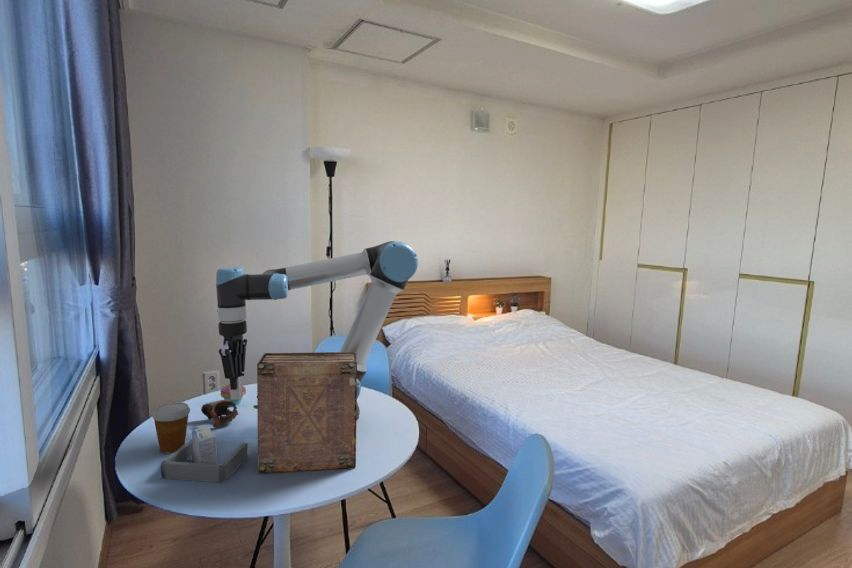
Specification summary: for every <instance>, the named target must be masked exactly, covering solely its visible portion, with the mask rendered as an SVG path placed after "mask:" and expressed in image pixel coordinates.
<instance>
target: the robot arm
mask: <svg viewBox="0 0 852 568" xmlns="http://www.w3.org/2000/svg"><path fill="white" fill-rule="evenodd" d="M418 265H419V258H418V255H417V253H416V251H415V250H414V249H413V248H412V246H410V245H409V244H407V243H405V242H403V241H394V240H393V241H387V242H383V243H380V244H378V245H374V246H371V247H367V248H363V250H362V251H361V252H357V253H351V254H347V255H342V256H336V257H331V258H326V259H321V260H316V261H312V262H311V261H310V262H306V263H300V264H297V265H296V264H295V265H292V266H291V265H290V266H287V267H282V268H281V267H280V268H275V269H274V268H272V269H267V270H265V271H264V272H262V273H261V274H258V273H257V274H255V273H254V274H246V273H245V269H244V268H242V267H222V268H219V269H217V270H216V272H215V273H216V276H215V277H216V282H215V288H216V290H215V291H216V301H217V309H216V312H217V316H218V317H217V320H218V321H219V323H217V324H218V326H217V328H218V334H219V336H222V337H223V343H222V344H223V348H219V350H218V353H219V356H220V359H221V363H222V368H223V374H224V375H223V376H224V379H228V380H229V384H230V397H231V399H232V400H240V399H241V398H242V399H243V396H242V390H241V385H242V377H244V376H245V373H244V372H245V367H246V355H247V353H246V352H247V343H248V339H246V338H244V336H243V335H246V333H247V332H248V330H247V329H248V327H247V326H248V325H247V321H246V319H247V309H246V308H247V304H246V301H257V300H260V301H263V300H264V301H265V300H268V301H269V300H274V301H277V300H284V299H287V297H289V295H288V294H289V291H292V290H295V289H300V288H301V289H302V288H306V287H311V286H315V285H321V284H326V283H330V282H335V281H341V280H346V279H350V278H356V277H360V276H365V275H366V276H368V277H369V278H370V282H371V283H370V285H369V287H368V290H367V291H366V294H365V296H364V298H363V300H362V301H361V304H360V307H359V310H358V312H357V314H356V316H355V318H354V321H353V322H352V324H351V326H350V329H349V331H348V333H347V336H346V337H345V340H344V342H343V345H342V346H341V348H340V350H329V351H328V352H356V361H357V400H358V398H359V397H360V395H361V390H362V382H363V380H364V378H365V376H366V374H367V371H368V367H367V364H366V362H367V360H368V357H369V355H370V353H371V350H372V349H373V346H374V344H375V342H376V340H377V339H378V338H377V337H378V335H379V334H380V331H381V329H382V326H383V325H384V322H385V320H386V319H387V315H388V314H389V311H390V310H391V307H392V305H393V302H394V301H395V298H396V296H397V294H399V293H402V292H403V291H404V290H405V288H406V286H407V284H408V282H409V280H410V279H411V278H412V277H414V275H415V273H416V272H417V270H418V267H419V266H418ZM242 399H241V400H242ZM360 412H361V411H360V407H359V403H358V402H357V412H356V421H358V420H357V419H359V418H360V416H361V414H360ZM359 415H360V416H359Z"/></svg>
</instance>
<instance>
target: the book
mask: <svg viewBox="0 0 852 568" xmlns="http://www.w3.org/2000/svg"><path fill="white" fill-rule="evenodd" d="M256 377H257V378H256V380H257V381H256V386H257V387H256V389H257V391H256V392H257V393H256V394H257V395H256V396H257V399H256V400H257V401H256V402H257V404H256V405H257V473H258V475H259V474H260V475H261V474H262V475H263V474H278V473H279V474H280V473H293V472H294V473H296V472H312V471H313V472H314V471H316V472H317V471H329V470H330V471H334V470H349V469H348V468H353V469H356V467H357V420H356V412H357V403H358V399H357V361H356V352H329V351H325V352H323V351H322V352H321V351H319V352H265V353H263V354H262V356H261V357H260V359H259V361H258V362H257V364H256Z"/></svg>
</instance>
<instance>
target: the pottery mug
mask: <svg viewBox="0 0 852 568" xmlns="http://www.w3.org/2000/svg"><path fill="white" fill-rule="evenodd" d="M230 405H232V406H230ZM229 407H232V408H233V410H230V409H228V408H229ZM237 409H238V407H237V405H235V403H233V402H232V401H228V400H224V399H223V400H219V401H216V402H214V404H210V403H205V404H203V405H202V406H201V408H200V411H201V413H202V414H203V415H204V416H206V417H207V419H208V421H210V420H211V419H212V420H213V424H212V427H214V428H216V429H218V428H219V427H220V426H223V425H226V424H228V423H230V422H232V421H233V420H234V419H235V418H236V417H237V416H238V415H239V411H238V410H237Z"/></svg>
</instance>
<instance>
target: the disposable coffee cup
mask: <svg viewBox="0 0 852 568" xmlns="http://www.w3.org/2000/svg"><path fill="white" fill-rule="evenodd" d="M190 412H191V408H190V406H189V404H188V403H186V402H182V401H181V402H179V401H178V402H177V401H176V402H175V401H174V402H169V403H168V402H167V403H163V404H160V405H158V406H157V407H155V408H154V409H153V413H152V414H151V417H152V419H153V421H154V426H155V432H156V438H157V444H158V448H159V452H161V453H162V454H163V453H164V454H173V453H174V452H176V451H177V450H178V449H180V448H181V447H182V446H183V445H185V444H186V437H187V431H188V430H187V429H188V422H189V414H190Z"/></svg>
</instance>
